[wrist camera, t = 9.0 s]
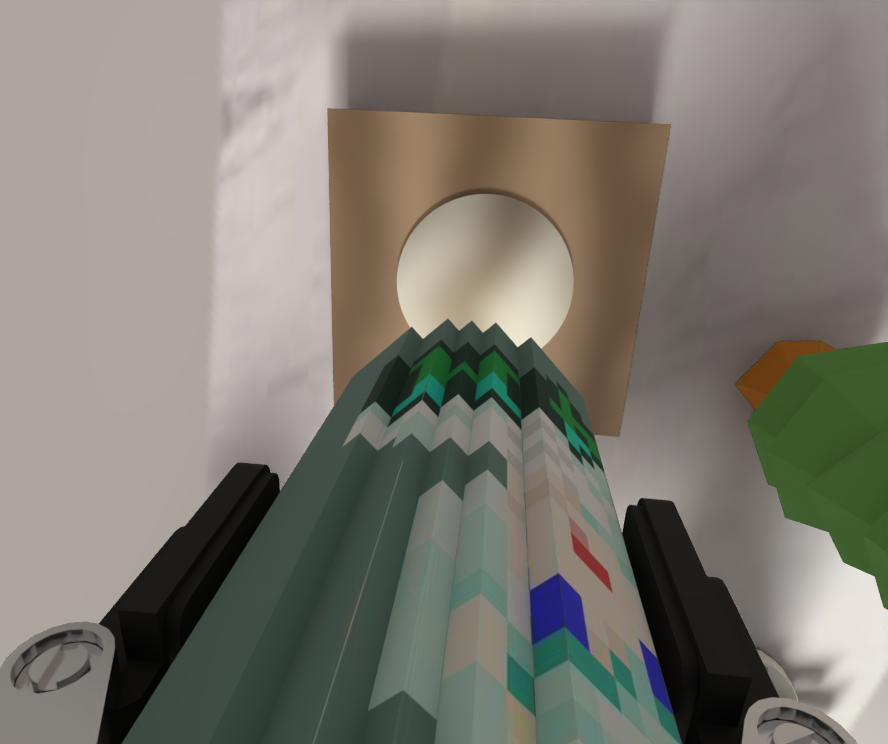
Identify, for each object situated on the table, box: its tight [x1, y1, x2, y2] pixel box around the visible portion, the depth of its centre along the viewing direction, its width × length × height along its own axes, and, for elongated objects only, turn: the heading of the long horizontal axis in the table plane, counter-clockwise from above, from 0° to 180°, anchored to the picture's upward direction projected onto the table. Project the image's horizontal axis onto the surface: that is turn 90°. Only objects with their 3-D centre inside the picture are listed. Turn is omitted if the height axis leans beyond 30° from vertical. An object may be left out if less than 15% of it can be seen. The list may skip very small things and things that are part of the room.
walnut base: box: [328, 108, 671, 436], centre depth 34 cm, size 16×16×4 cm
